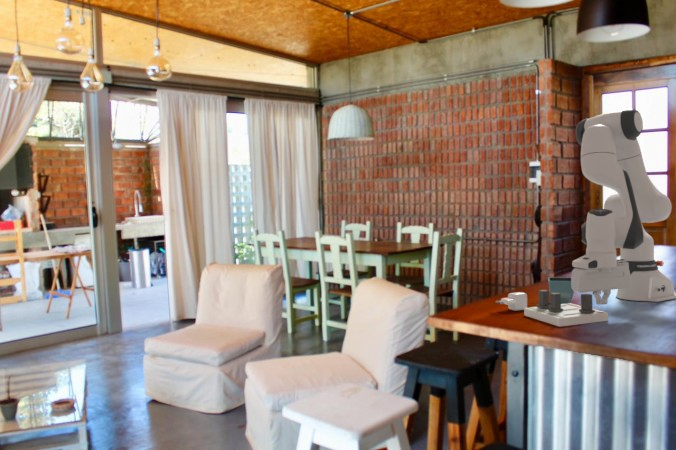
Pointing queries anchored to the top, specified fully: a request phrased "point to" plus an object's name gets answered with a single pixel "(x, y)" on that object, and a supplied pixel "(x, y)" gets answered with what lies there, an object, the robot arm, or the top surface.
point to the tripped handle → (586, 304)
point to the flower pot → (561, 288)
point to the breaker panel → (565, 315)
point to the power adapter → (515, 301)
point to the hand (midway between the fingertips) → (601, 304)
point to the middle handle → (555, 302)
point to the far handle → (543, 299)
